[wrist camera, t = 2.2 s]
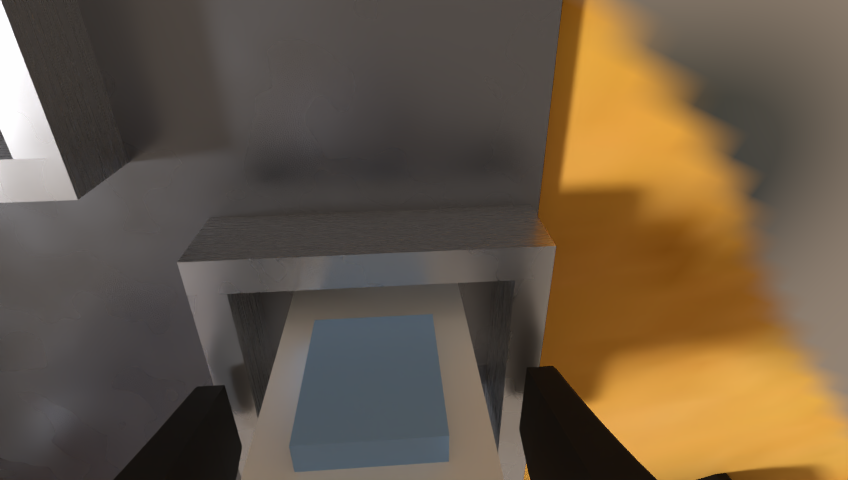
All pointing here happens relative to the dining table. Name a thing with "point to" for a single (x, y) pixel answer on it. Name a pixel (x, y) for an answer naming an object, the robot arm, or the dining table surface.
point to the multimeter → (717, 477)
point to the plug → (375, 390)
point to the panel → (254, 200)
